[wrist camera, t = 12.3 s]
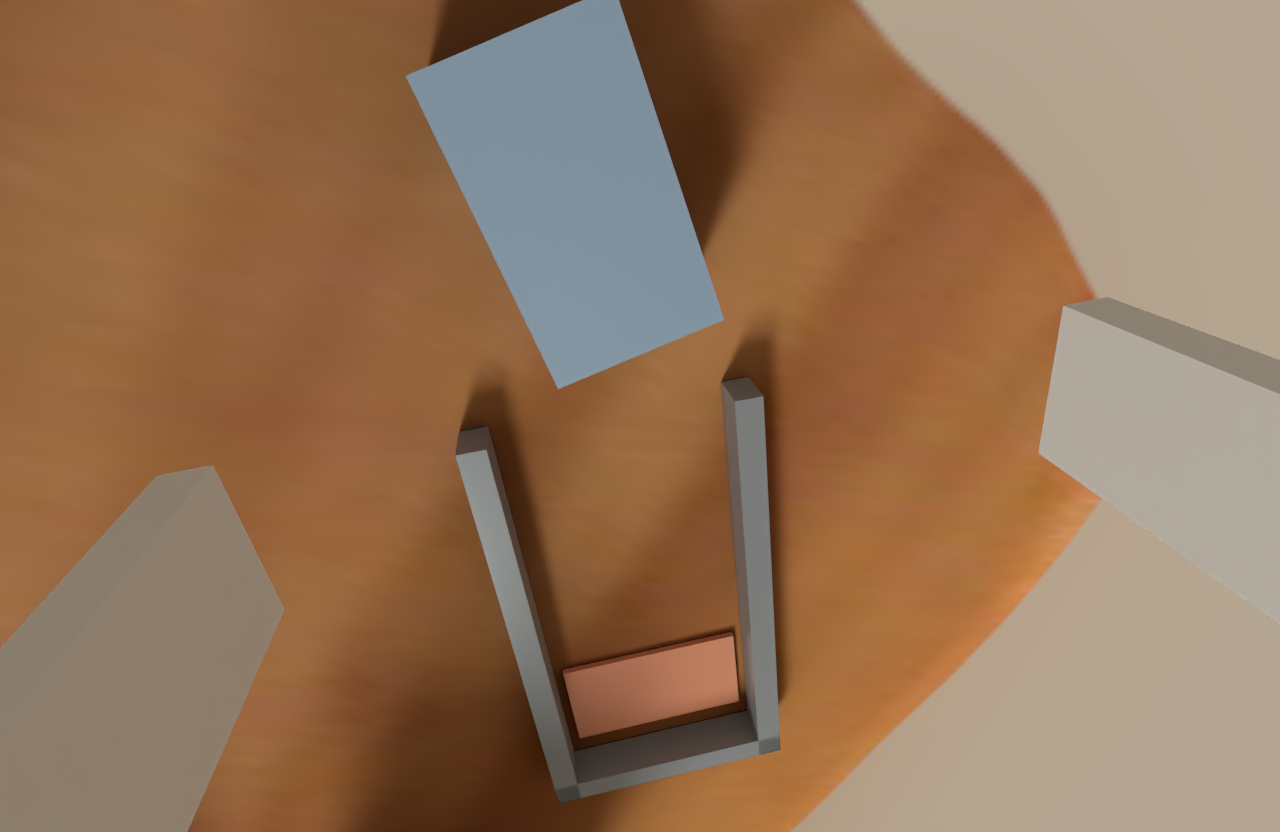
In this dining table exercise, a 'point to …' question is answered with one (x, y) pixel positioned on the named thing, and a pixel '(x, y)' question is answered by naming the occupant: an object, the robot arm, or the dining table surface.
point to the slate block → (573, 187)
